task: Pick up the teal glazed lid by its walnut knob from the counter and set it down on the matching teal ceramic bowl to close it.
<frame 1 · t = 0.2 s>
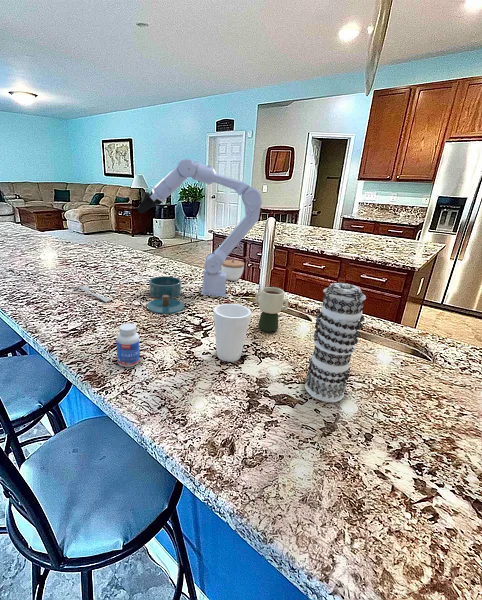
hand: (141, 210, 120), 31 cm above the countertop, tool tilted 45°, fingers open, 7 cm apart
pill bottle: (128, 362, 81), on the countertop
trinket box: (231, 279, 151), on the countertop
lid: (165, 306, 114), point 1 cm above the countertop
bowl: (165, 294, 127), on the countertop
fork: (91, 295, 122), on the countertop
character mug: (267, 329, 102), on the countertop
leaning tower model: (324, 391, 73), on the countertop
foam cup: (228, 356, 86), on the countertop
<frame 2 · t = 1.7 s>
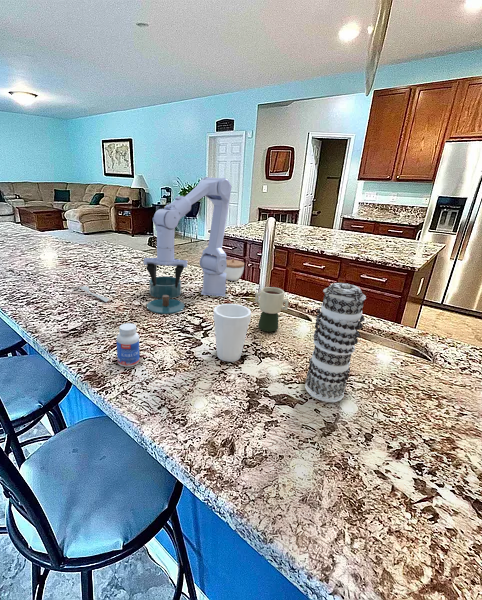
hand: (165, 285, 111), 8 cm above the countertop, tool pointing down, fingers open, 7 cm apart
nothing on the countertop moved.
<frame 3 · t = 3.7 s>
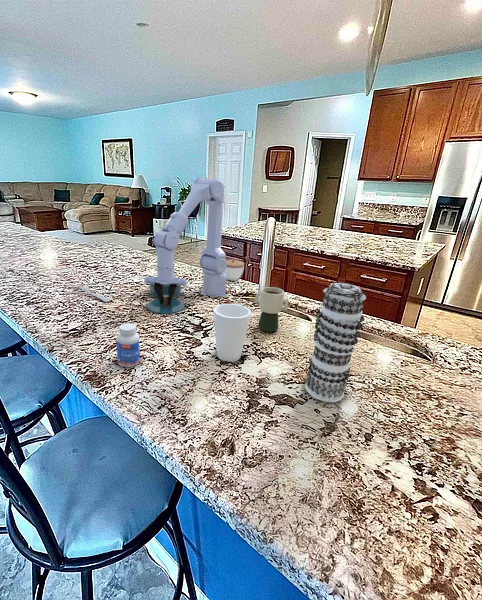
hand: (165, 303, 113), 2 cm above the countertop, tool pointing down, fingers closed on lid, 2 cm apart
lid: (165, 306, 114), point 1 cm above the countertop, touching gripper
everything else where it was.
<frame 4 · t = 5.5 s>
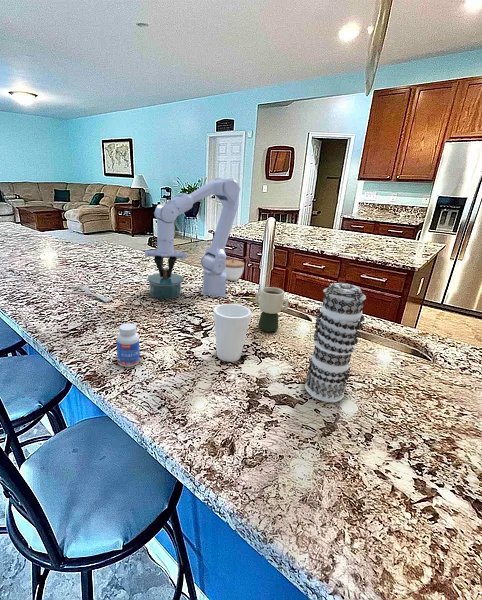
hand: (165, 276, 117), 9 cm above the countertop, tool pointing down, fingers closed on lid, 2 cm apart
lid: (165, 279, 118), point 8 cm above the countertop, touching gripper
everything else where it was.
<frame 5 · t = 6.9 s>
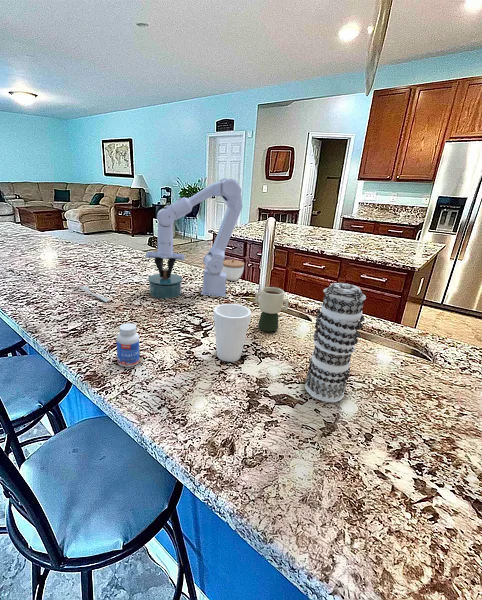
hand: (165, 277, 125), 7 cm above the countertop, tool pointing down, fingers closed on lid, 2 cm apart
lid: (165, 279, 125), point 6 cm above the countertop, touching gripper
everything else where it was.
when the fingers open (6 cm above the countertop, at t = 7.3 s): lid stays where it is, resting on bowl.
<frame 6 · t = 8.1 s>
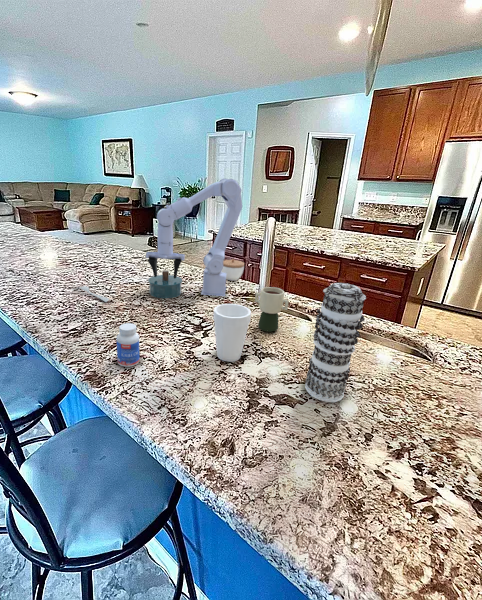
hand: (165, 277, 125), 7 cm above the countertop, tool pointing down, fingers open, 7 cm apart
lid: (165, 280, 125), point 5 cm above the countertop, touching bowl
everything else where it was.
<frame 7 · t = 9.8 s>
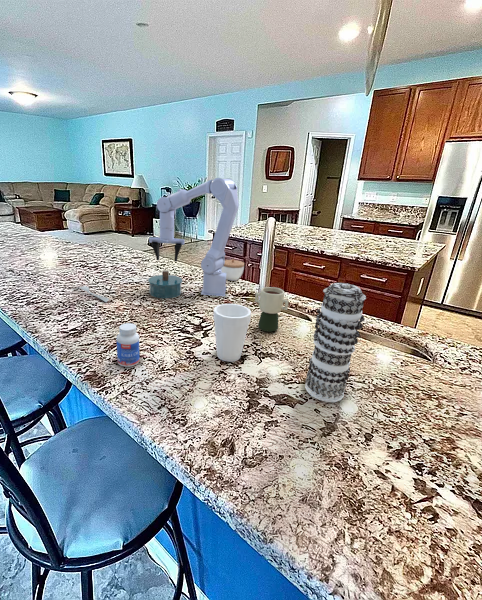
hand: (166, 260, 136), 10 cm above the countertop, tool pointing down, fingers open, 7 cm apart
nothing on the countertop moved.
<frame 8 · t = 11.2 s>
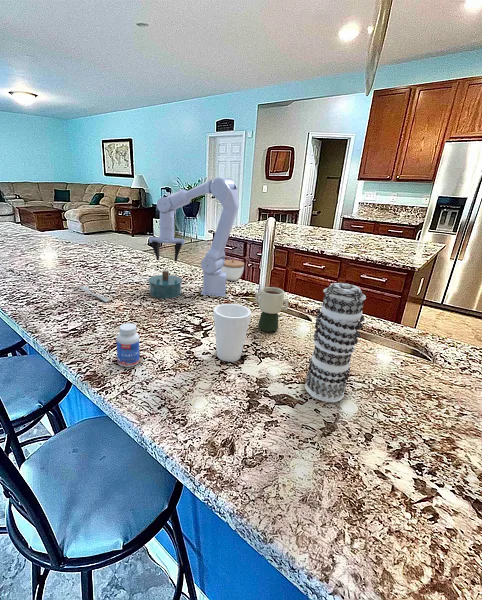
hand: (166, 260, 136), 10 cm above the countertop, tool pointing down, fingers open, 7 cm apart
nothing on the countertop moved.
at the end: lid 0.0 cm off-centre on the bowl, point 5.5 cm above the bowl's base; lid tilted 0° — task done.
